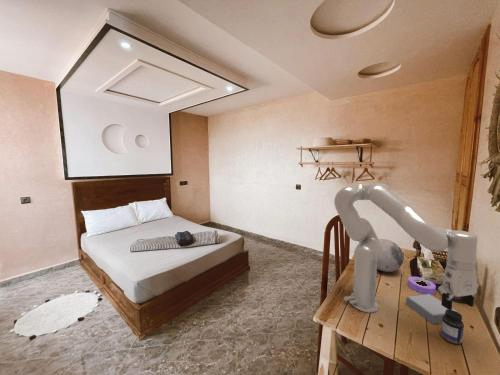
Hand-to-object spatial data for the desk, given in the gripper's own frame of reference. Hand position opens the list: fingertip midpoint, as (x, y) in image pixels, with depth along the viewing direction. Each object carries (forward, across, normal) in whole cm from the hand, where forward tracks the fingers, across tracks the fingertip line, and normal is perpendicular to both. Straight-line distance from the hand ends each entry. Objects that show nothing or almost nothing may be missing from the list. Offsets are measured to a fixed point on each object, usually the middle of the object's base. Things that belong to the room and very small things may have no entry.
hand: (457, 306), depth 80 cm
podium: (+14, +6, +15) cm, 22 cm away
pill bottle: (+15, -1, +1) cm, 15 cm away
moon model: (+14, +14, +52) cm, 55 cm away
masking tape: (+15, +19, +31) cm, 39 cm away
